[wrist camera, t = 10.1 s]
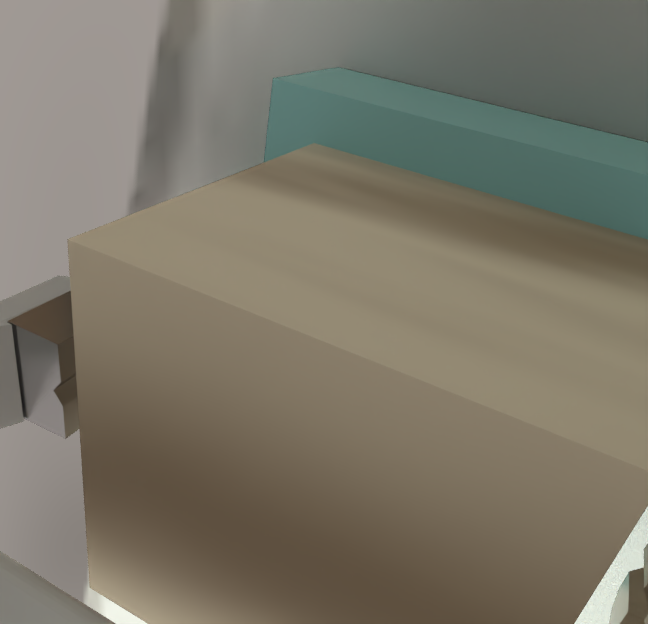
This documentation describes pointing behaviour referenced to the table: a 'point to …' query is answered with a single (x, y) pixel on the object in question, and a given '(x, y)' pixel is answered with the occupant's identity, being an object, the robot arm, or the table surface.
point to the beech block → (357, 400)
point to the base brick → (465, 144)
